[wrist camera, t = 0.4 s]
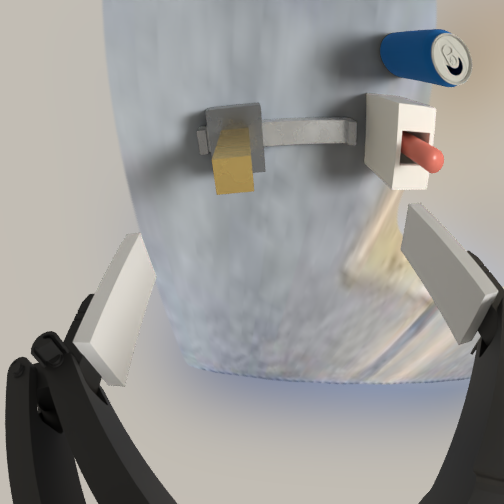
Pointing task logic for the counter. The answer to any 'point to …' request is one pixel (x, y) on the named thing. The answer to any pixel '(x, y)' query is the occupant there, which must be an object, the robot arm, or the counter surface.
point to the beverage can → (427, 57)
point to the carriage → (235, 146)
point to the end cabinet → (396, 139)
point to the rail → (297, 132)
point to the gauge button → (421, 153)
